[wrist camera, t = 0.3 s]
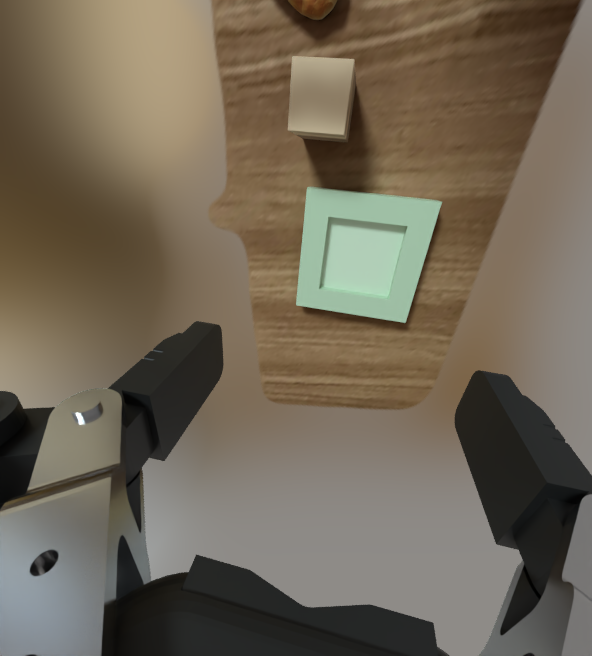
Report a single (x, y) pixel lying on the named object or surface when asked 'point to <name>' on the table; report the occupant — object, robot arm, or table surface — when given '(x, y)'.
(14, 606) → the robot arm
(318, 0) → the pastry
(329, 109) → the wooden block
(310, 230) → the plate
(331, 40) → the table surface
